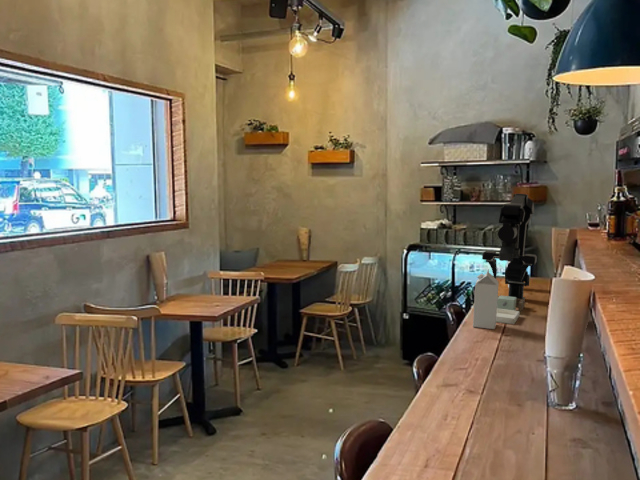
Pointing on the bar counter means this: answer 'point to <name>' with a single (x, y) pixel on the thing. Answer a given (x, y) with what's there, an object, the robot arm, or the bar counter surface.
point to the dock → (520, 304)
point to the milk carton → (485, 301)
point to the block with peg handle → (506, 303)
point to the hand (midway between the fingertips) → (507, 280)
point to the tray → (507, 316)
